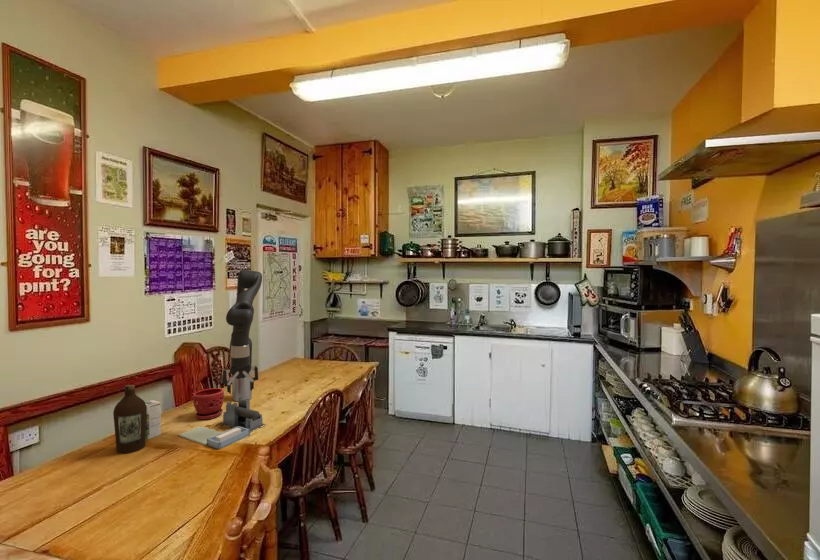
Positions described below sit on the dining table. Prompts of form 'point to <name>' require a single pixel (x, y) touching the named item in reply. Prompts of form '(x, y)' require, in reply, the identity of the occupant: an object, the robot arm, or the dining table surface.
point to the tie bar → (228, 434)
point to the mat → (199, 434)
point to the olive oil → (130, 422)
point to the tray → (228, 441)
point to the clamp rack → (234, 420)
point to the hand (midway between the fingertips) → (240, 391)
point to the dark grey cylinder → (248, 413)
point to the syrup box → (153, 419)
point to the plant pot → (208, 403)
